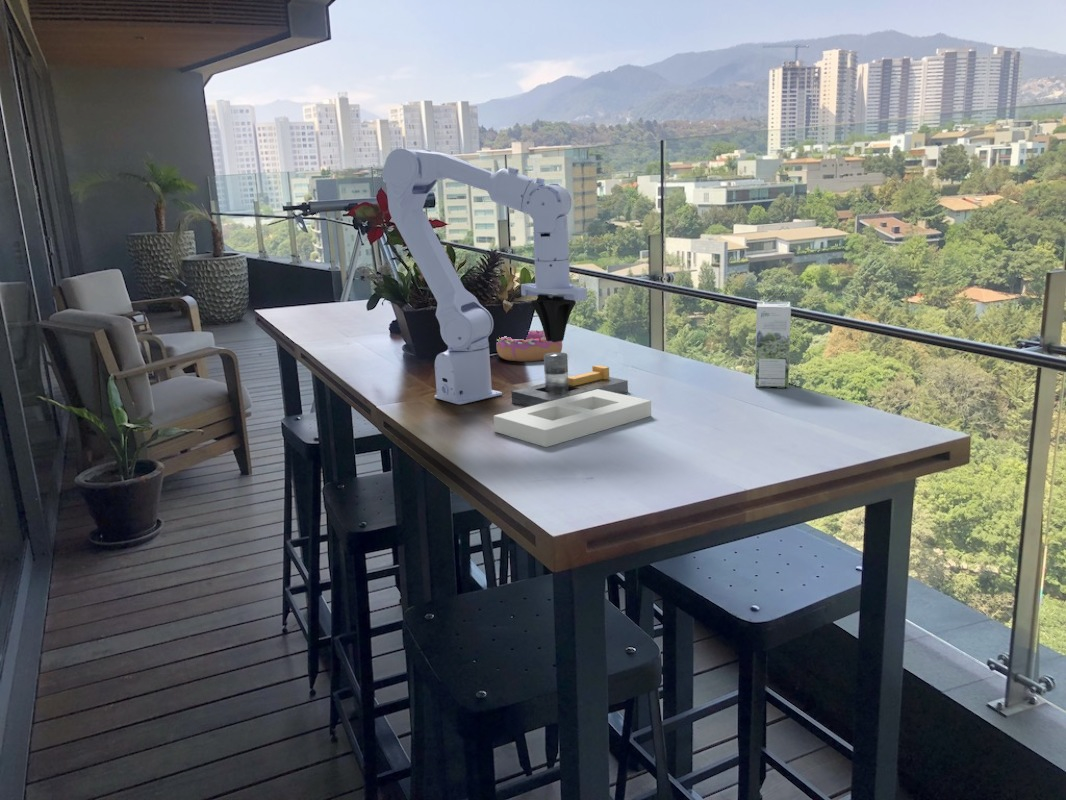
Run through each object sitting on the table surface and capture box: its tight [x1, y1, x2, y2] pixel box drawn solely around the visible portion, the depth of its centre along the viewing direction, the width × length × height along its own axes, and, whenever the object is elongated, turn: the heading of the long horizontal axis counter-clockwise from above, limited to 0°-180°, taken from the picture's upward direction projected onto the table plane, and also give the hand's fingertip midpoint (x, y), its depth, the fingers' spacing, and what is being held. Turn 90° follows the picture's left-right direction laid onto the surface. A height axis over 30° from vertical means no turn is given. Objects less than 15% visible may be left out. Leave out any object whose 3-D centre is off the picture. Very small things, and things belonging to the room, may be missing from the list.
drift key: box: [568, 364, 610, 386], centre depth 153 cm, size 8×3×2 cm, turn 130°
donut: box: [495, 329, 563, 363], centre depth 188 cm, size 14×14×5 cm
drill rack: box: [493, 389, 652, 448], centre depth 134 cm, size 22×12×2 cm, turn 130°
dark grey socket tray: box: [511, 376, 629, 407], centre depth 151 cm, size 18×10×2 cm, turn 130°
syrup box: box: [754, 301, 792, 389], centre depth 151 cm, size 6×6×14 cm
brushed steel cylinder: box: [543, 352, 569, 394], centre depth 148 cm, size 4×4×8 cm
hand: (554, 340), depth 147 cm, fingers closed
